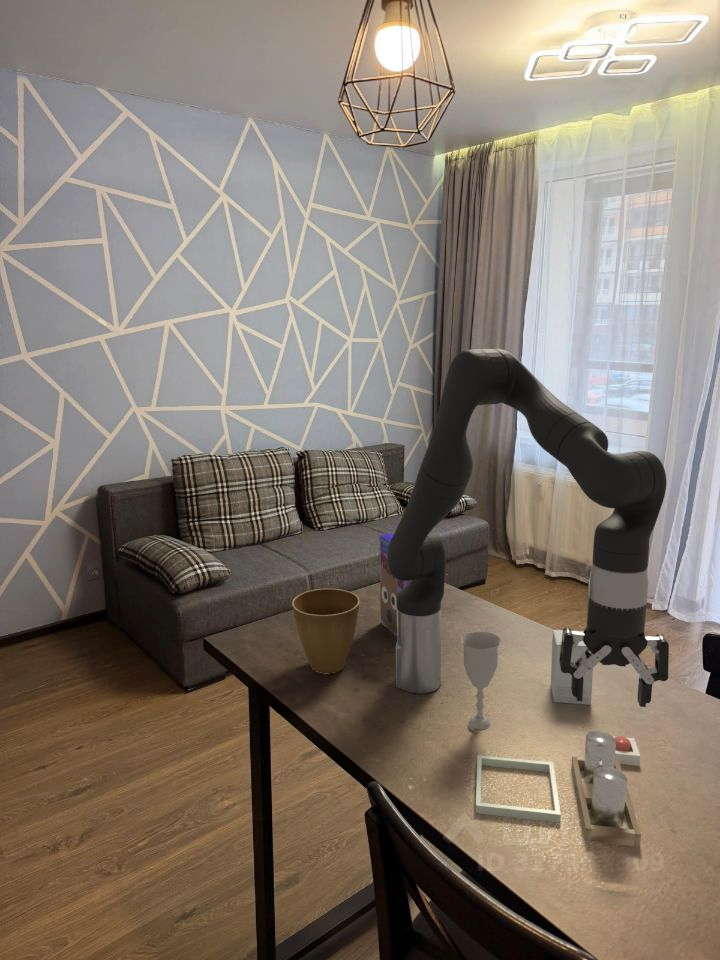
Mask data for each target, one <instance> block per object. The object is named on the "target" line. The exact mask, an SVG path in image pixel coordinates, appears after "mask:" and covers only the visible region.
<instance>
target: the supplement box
mask: <svg viewBox="0 0 720 960" xmlns="http://www.w3.org/2000/svg"><path fill="white" fill-rule="evenodd" d="M571 631H573V630H572V629H571ZM574 631H575V632H584V631H585V630H574ZM562 634H563V629H553V630H552V638H551V639H552V640H551V642H552V643H551V645H552V646H551V669H550V670H551V672H550V688H551V693H552V694H551V695H552V699H553V702H554V703H561V704H563V703H564V704H574V705H575V704H576V705H590V706H591V705H592V693H593V691H592V690H593V671H594V668H593V669H591V670H588V671H587V672H586V673H585V674H584V675H583V679H584V680H583V696H582V701H577V699H576V697H573V694H572V690H571V680H572V675H571V674H569V673H563V672H562V671H561V668H560V663H559V659H560V650H561V642H562ZM586 648H587V647H586V645H585V644H584V642H583V641H580V642H579V643H578V645H577V647H574V648H573V647H572V655H571V662H573V663H574V662H575V661H576V660H577V659H578V658H579V657H580V656H581V653H582V652H583V651H584V650H585V649H586Z"/></svg>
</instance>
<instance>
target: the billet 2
mask: <svg viewBox="0 0 720 960" xmlns="http://www.w3.org/2000/svg"><path fill="white" fill-rule="evenodd" d="M627 784H628V778H627V776H626V775H625V773H624V772H623V771H622V772H621V771H619V770H617V769H615V768H612V767H599V768H597V769H595V771H594V777H593V791H592V805H591V819H590V822H591V825H597V826H606V827H615V828H623V821H624V809H625V797H626V786H627Z"/></svg>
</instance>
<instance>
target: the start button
mask: <svg viewBox="0 0 720 960" xmlns="http://www.w3.org/2000/svg"><path fill="white" fill-rule="evenodd" d="M614 737H615V740H616V751H627V752H630V741H629V740H628V739H627V738H628V737H626V738H625V736H620V735H619V736H618V735H617V736H614Z"/></svg>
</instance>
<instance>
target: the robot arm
mask: <svg viewBox="0 0 720 960" xmlns="http://www.w3.org/2000/svg"><path fill="white" fill-rule="evenodd" d="M498 404H503V405H507V407H511V408H512V409H514V410H516V411H517V412H519V413H521V414H522V416H523V417H524V418H525V419H526V422H527V425H528V428H529V432H530V434H531V436H532V437H533V439H534V441H535V442H536V443H537V444H538V445H539V446H540V448H542V449H543V450H544V451H546V452H547V453H548V454H549V455H551V457H553V458H554V459H556V461H558V462H559V463H561V464H562V465H563V466H565V467H566V468H567V470H568V471H569V473H570V475H571V476H572V478H573V480H575V482H576V483H577V484H578V486H579V487H580V489H581V490H582V492H583V493H584V495H586V497H587V498H588V499H589V500H591V501H592V502H594V503H596V504H597V505H599V506H601V507H604V508H607V509H613V511H612V513H611V515H610V516H609V517H608V518H606V519H604V520H602V521H601V522H600V523H599V524H597V526H596V528H595V531H594V535H593V544H592V545H593V547H592V548H593V550H592V565H591V568H590V569H591V570H590V572H589V573H590V574H589V580H588V581H589V582H588V586H587V591H588V598H587V599H588V600H587V612H586V613H587V615H586V627H585V629H584V630H583V631H584V632H575V631H576V630H572V629H571V628H570V627H568V626H567V627H564V628H563V629H562V630H563V634H562V642H561V650H560V659H559V663H560V668H561V671H562V672H563V673H569V674H571V675H572V680H571V690H572V694H573V697H576V699H577V701H582V696H583V680H584V679H583V675H584V674H585V673H586V672H587V671H588V670H591V669H593V670H594V667H596V666H597V665H598V664H601V665H602V666H619V667H623V668H625V667H627V666H628V665H631V667H633V668H634V670H635V672H636V673H637V674H639V676H638V686H637V703H638V706H639V707H640V708H647V707H646V706H647V704H650V703H651V701H652V693H653V690H652V689H653V684H654V683H655V682H658V681H661V682H667V681H668V680H669V664H670V663H669V660H670V658H669V657H670V656H669V655H670V653H669V651H670V648H669V647H670V644H669V643H668V640H667V639H666V637H665V635H664V634H662V633H658V634H656V635H655V636H646V635H645V628H646V616H647V605H648V593H649V592H648V590H649V577H648V576H649V575H648V567H649V566H648V565H649V557H650V556H649V553H650V540H651V535H652V533H653V530H654V528H655V526H656V524H657V520H658V517H659V515H660V512H661V509H662V506H663V504H664V503H663V502H664V499H665V496H666V491H667V474H666V471H665V467H664V465H663V463H662V461H661V460H660V459H659V457H657V455H655V454H653V453H652V452H649V451H645V450H636V451H635V450H633V451H628V452H622V453H611V452H608V448H609V439H608V436H607V435H606V433H605V432H604V431H603V430H602V429H601V428H600V427H598V426H597V425H596V424H594V423H592V422H591V421H590V420H588V419H586V417H584V416H582V415H581V414H580V413H578V412H577V411H575V410H574V409H572V408H571V407H569V406H568V405H566V404H565V403H564V402H563V401H562V400H560V399H558V397H557V396H555V395H554V394H553V392H551V391H550V390H549V389H548V388H547V387H546V386H545V385H544V384H543V383H542V382H540V381H539V379H538V378H537V377H536V376H535V375H534V374H533V373H532V372H531V371H530V370H529V369H528V367H526V366H525V365H524V364H523V362H521V360H520V359H518V358H517V357H516V356H515V355H513V354H512V353H511V352H509V351H507V350H505V349H501V348H478V349H477V348H476V349H475V348H474V349H464V350H462V351H460V352H458V353H457V354H456V355H455V356H454V358H453V359H452V361H451V364H450V365H449V368H448V370H447V374H446V377H445V381H444V385H443V390H442V394H441V399H440V403H439V408H438V411H437V416H436V421H435V424H434V427H433V429H432V433H431V436H430V439H429V443H428V446H427V448H426V450H425V451H426V452H425V454H424V456H423V458H422V461H421V464H420V467H419V469H418V473H417V475H416V479H415V483H414V486H413V488H412V491H411V494H410V497H409V499H408V502H407V504H406V508H405V510H404V511H403V514H402V517H401V519H400V521H399V523H398V525H397V527H396V529H395V530H394V532H393V533H394V535H393V537H392V539H391V541H390V544H389V547H388V552H387V564H388V568H389V571H390V573H391V574H392V576H393V577H394V578H396V579H398V580H401V581H409V580H412V582H411V583H410V584H409V585H408V586H406V587H405V588H404V589H402V590H401V591H400V592H399V593H398V595H397V601H396V602H397V636H396V644H395V688H396V689H402V690H404V691H406V692H408V693H412V694H413V693H414V694H428V693H432V692H435V691H437V690H438V689H439V688H440V687H441V684H442V600H443V599H444V596H445V595H444V594H445V580H446V579H445V577H446V563H447V562H446V550H445V546H444V543H443V540H442V539H441V537H440V535H439V534H437V532H435V531H433V529H434V528H435V527H437V525H438V524H439V523H441V521H442V520H444V518H445V517H447V515H448V514H450V512H452V511H453V509H454V508H456V506H457V505H458V504H459V503H460V501H461V499H462V497H463V495H464V493H465V491H466V489H467V486H468V484H469V481H470V478H471V476H472V474H473V468H474V466H473V465H474V464H473V457H472V453H471V449H470V446H469V444H468V439H467V430H468V427H469V423H470V419H471V417H472V415H473V413H474V411H475V409H476V408H477V407H478V406H488V405H498ZM571 630H572V631H571ZM580 641H583V642H584V644H585V645H586V647H587V648H586V649H585V650H584V651H583V652H582V653H581V656H580V657H579V658H578V659H577V660H576V661H575V662H574V663H573V662H571V655H572V647H573V648H574V647H577V645H578V643H579V642H580ZM647 647H650V650H651V652H652V653H654V667H652V668H649V667H648V666H647V664H646V663H645V662H644V661H643V659H642V658H641V656H640V655H641V653H643V652H644V651H645V649H646V648H647Z"/></svg>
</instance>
